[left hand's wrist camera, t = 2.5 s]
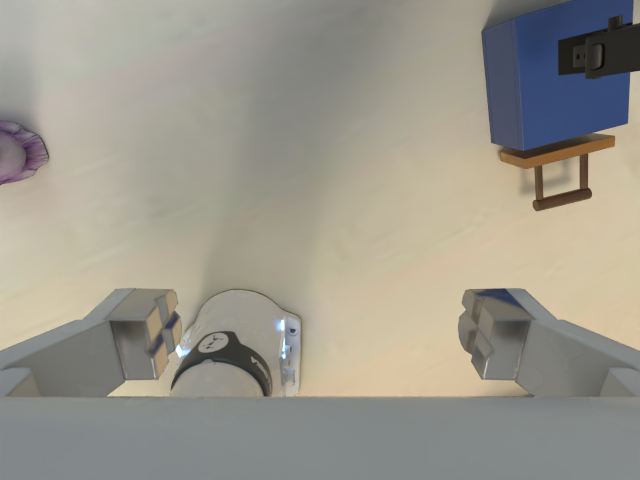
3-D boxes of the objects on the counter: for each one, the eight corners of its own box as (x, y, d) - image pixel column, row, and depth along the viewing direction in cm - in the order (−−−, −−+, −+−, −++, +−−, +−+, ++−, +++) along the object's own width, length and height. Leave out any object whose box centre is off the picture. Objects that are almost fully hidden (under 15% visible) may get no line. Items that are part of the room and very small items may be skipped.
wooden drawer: (578, 186, 47) (613, 198, 42) (504, 205, 48) (528, 218, 43) (578, 37, 41) (618, 27, 35) (492, 62, 42) (518, 56, 36)
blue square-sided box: (578, 119, 45) (628, 123, 38) (491, 143, 46) (523, 151, 39) (578, 2, 40) (634, -19, 33) (481, 31, 41) (515, 17, 34)
